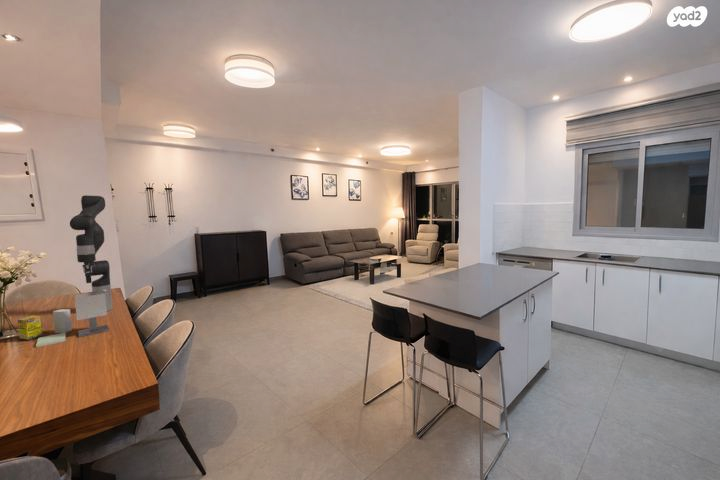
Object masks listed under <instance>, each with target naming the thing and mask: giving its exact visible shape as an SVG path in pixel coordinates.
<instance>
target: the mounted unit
mask: <svg viewBox="0 0 720 480" xmlns="http://www.w3.org/2000/svg"><path fill="white" fill-rule="evenodd" d="M74 305H75V306H74V307H75V314H76V315H75V316H76V321H81V320H86V319H88V323H89V328H86V329H80V330H78V338H82V337H86V336H87V337H88V336H91V335H95V334H101V333H106V332H109V326H108V325H107V324H106V325H100V326H98V323H97V317H102V316H107V315H108V311H107V308H106V297H105V291H97V292H92V291H91V292H84V293H78V294H74Z"/></svg>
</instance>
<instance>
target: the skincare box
mask: <svg viewBox="0 0 720 480" xmlns="http://www.w3.org/2000/svg"><path fill="white" fill-rule="evenodd" d="M52 316H53V318H52V319H53V325H54V333H55V334H60V333H65V332H66V333H68V332H69V333H70V332H71V331H73V326H72V315H71V309H69V308H68V309H67V308H66V309H64V308H60V309H57V310H53V311H52Z"/></svg>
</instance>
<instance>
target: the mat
mask: <svg viewBox="0 0 720 480" xmlns="http://www.w3.org/2000/svg"><path fill="white" fill-rule="evenodd" d="M66 336H67V332H65V333H55V334H51V335H47V336H41V337H38V338H37V341H36V344H35V347H36V348H41V347H44V346H49V345H54V344H59V343H63V342H66V338H67V337H66Z"/></svg>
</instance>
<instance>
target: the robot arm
mask: <svg viewBox="0 0 720 480" xmlns="http://www.w3.org/2000/svg"><path fill="white" fill-rule="evenodd" d="M80 202H81V203H80V204H81V209H82V210H81V211H80V213H78V214H77V215H74V216H73V217H72V218H71V219H70V221H69V227H70V228H71V229H72V230H74V231H84V233H83V234H78V235H76V237H75V241H76V242H75V243H76V258H77V259H76V260H77V262H78V263H83V264H82V270H83V274H84V276H85V283H86V284H91V292H97V291H105V297H106V308H107V312H110V311H112V310H113V299H112V290H111V275H110V272H111V271H110V263H109V261H108V260H105V259H103V260H97V259H96V254H97V253H98V252H99V249H100V248H101V247H102V246H103V245H104V242H105V231H104V229H103V228H102V226H101V225H100V224H99V223H98V222H97V221H96V217H97V216H98V215H99V214H101V212H103V211H104V210H105V208H106V200H105V198H104V197H103V196H102V195H87V194H86V195H82V196H81V201H80ZM101 275H102V276H101ZM94 276H95V277H96V276H101V277H99V278H97V279H95V280H93V281H92V277H94Z"/></svg>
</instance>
